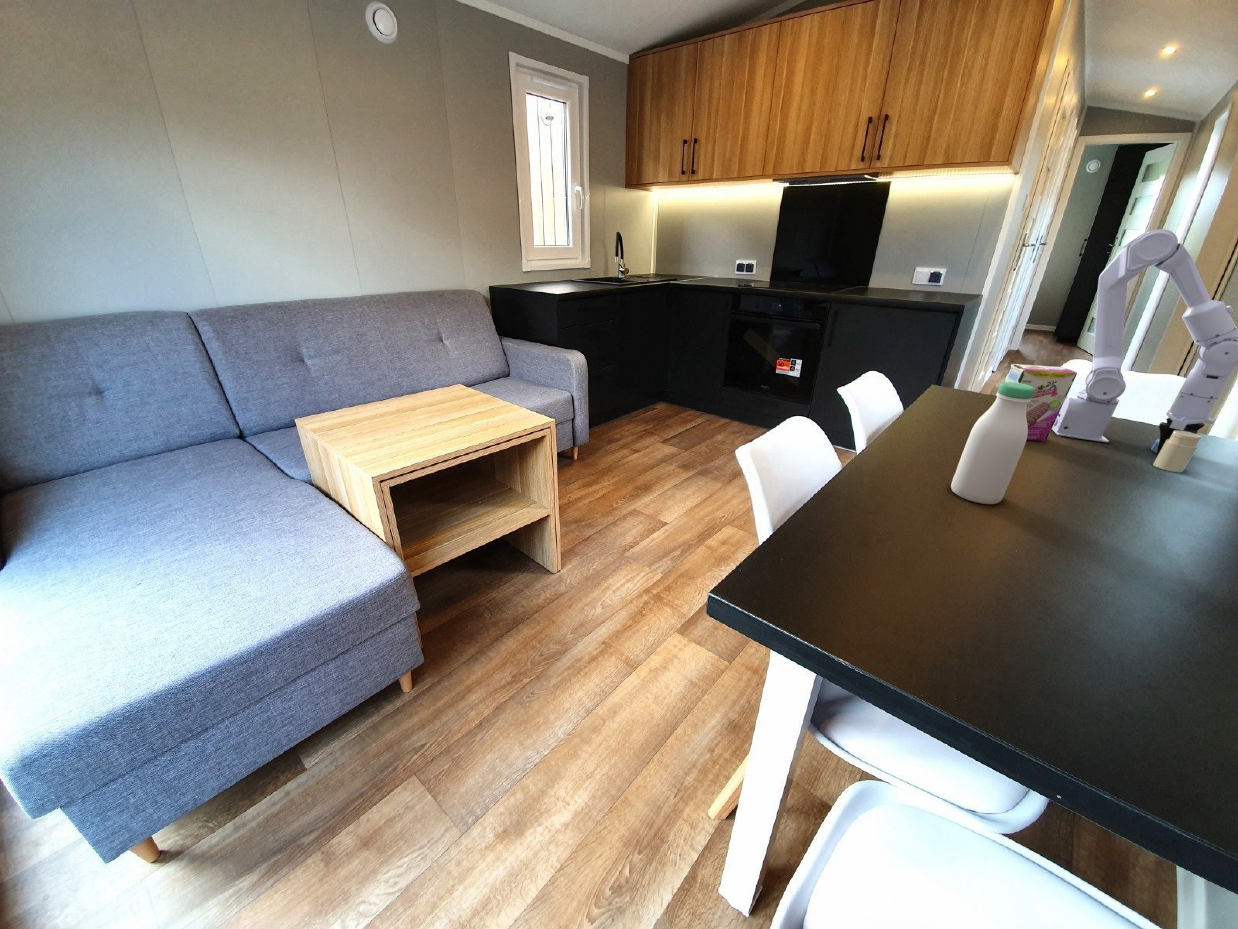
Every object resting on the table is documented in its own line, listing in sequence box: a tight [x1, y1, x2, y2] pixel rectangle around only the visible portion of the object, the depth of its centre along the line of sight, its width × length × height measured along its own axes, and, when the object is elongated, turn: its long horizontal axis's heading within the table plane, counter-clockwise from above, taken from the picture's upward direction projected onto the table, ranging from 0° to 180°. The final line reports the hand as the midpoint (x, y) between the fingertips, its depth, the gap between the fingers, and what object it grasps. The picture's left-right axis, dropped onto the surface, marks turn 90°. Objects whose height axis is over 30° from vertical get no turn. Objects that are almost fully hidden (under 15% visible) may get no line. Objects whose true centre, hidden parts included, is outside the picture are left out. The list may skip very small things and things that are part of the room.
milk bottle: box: [950, 381, 1035, 505], centre depth 82 cm, size 8×8×20 cm
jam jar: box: [1152, 430, 1202, 473], centre depth 99 cm, size 4×4×8 cm
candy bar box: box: [1004, 363, 1078, 443], centre depth 110 cm, size 11×5×16 cm, turn 84°
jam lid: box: [1150, 438, 1160, 454], centre depth 107 cm, size 5×5×2 cm
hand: (1165, 453), depth 108 cm, fingers closed on jam lid, 5 cm apart
